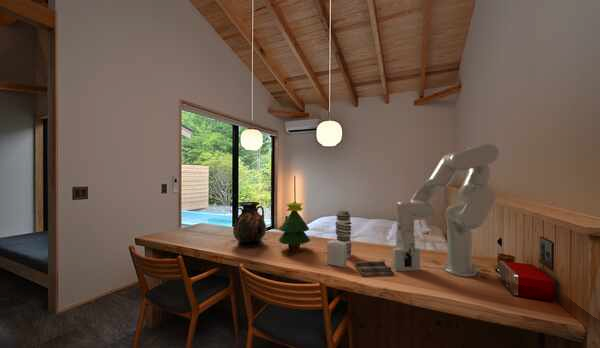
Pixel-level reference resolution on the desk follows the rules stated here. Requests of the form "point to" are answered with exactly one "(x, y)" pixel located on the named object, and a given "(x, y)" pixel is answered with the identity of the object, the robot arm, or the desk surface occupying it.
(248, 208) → the amphora vase
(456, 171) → the robot arm
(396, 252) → the pale sage cube
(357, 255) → the desk surface
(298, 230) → the decorative tree
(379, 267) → the door track
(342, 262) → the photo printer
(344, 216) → the grey layered cylinder
